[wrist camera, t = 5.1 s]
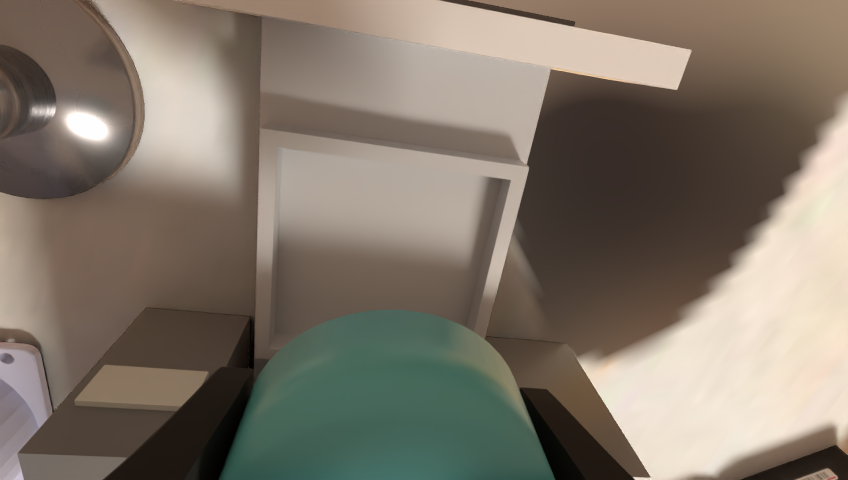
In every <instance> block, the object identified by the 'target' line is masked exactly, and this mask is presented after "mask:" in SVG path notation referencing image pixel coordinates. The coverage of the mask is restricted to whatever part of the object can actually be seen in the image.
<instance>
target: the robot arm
mask: <svg viewBox="0 0 848 480" xmlns="http://www.w3.org/2000/svg"><path fill="white" fill-rule="evenodd" d="M8 354H10V355H12V356H13V357H11V356H10V355H8ZM252 388H253V369H248V368H233V367H220V368H219V369H217V370H216V371H215V372H214V373H213V374H212V375H211V376H210V377H209V378H208V379H207V380H206V381H205V382H204V383H203V384H202V386H201V387H200V388H199V389H198V390H197V391H196V392H195V393H194V394H193V395H192V396H191V397H190V398H189V399H188V400H187V401H186V402H185V403H184V404H183V405H182V406H181V407H180V408H179V409H178V410H177V411H176V412H175V413H174V414H173V415H172V416H171V417H170V418H169V419H168V420H167V421H166V422H165V423H164V424H163V425H162V426H161V427H160V428H159V429H158V430H157V431H156V432H154V433H153V434H152V435H151V436H150V437H149V438H148V439H147V440H146V441H145V442H144V443H143V444H142V445H141V446H140V447H139V448H138V449H137V450H136V451H134V452H133V453H132V454H131V455H130V456H129V457H128V458H127V459H126V460H125V461H124V462H122V463H121V464H120V465H119V466H118V467H117V468H115V469H114V470H113V471H112V472H111V473H110V474H109V475H107V476H106V477H105V478H104V479H103V480H218V479H219V477H220V474H221V471H222V468H223V466H224V463H225V460H226V458H227V455H228V452H229V450H230V447H231V444H232V441H233V439H234V436H235V433H236V431H237V428H238V425H239V422H240V420H241V417H242V414H243V412H244V409H245V406H246V404H247V401H248V398H249V395H250V393H251V390H252ZM519 391H520V394H521V396H522V399H523V401H524V403H525V406H526V408H527V411H528V413H529V416H530V418H531V421H532V423H533V426H534V428H535V431H536V433H537V436H538V438H539V441H540V443H541V446H542V448H543V451H544V453H545V455H546V458H547V460H548V463H549V465H550V468H551V470H552V473H553V475H554V478H555V480H635V479H634V478H633V477H632V476H631V475H630V474H629V473H628V472H627V471H626V470H625V469H624V468H623V467H622V466H621V465H620V464H619V463H618V462H617V461H616V460H615V459H614V458H613V457H612V456H611V455H610V454H609V453H608V452H607V451H606V450H605V449H604V448H603V447H602V446H601V445H600V444H599V443H598V442H597V441H596V440H595V438H594V437H593V436H592V435H591V434H590V433H589V432H588V431H587V430H586V429H585V428H584V427H583V426H582V425H581V424H580V423H579V422H578V421H577V420H576V418H575V417H574V416H573V415H572V414H571V413H570V412H569V411H568V410H567V409H566V408H565V407H564V406H563V405H562V404H561V403H560V402H559V401H558V400H557V399H556V398H555V397H554V396H553V395H552V394H551V393H550V392H549V391H548V390H547V389H539V388H524V387H520V390H519ZM52 413H53V412H52V407H51V402H50V397H49V392H48V387H47V382H46V377H45V372H44V367H43V362H42V357H41V354H40V352H39V350H38V349H37V348H36V347H34V346H32V345H29V344H22V343H8V342H0V480H24V478H23V474H22V470H21V466H20V462H19V458H18V454H17V453H18V452H19V451H20V450H21V449H22V447H23V446H24V445H25V444H26V443H27V442H28V441H29V439H30V438H31V437H32V436H33V435H34V434H35V433H36V432H37V430H38V429H39V428H40V427H41V426H42V425H43V424H44V423H45V421H46V420H47V419H48V418H49V417H50V416H51V415H52Z"/></svg>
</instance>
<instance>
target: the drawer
mask: <svg viewBox="0 0 848 480" xmlns="http://www.w3.org/2000/svg"><path fill="white" fill-rule="evenodd" d="M174 1H179V2H183V3H188V4H194V5H200V6H205V7H211V8H216V9H222V10H227V11H233V12H238V13H244V14H249V15H255V16H260V17H262V27H261V72H260V116H259V160H258V205H257V249H256V294H255V338H254V382H253V386H254V384H255V382H256V380H257V378H258V375H259V374H260V373H261V371H262V370H263V368H264V367H265V365H266V364H267V363H268V361H269V360H270V359H271V358H272V357H273V356H274V355H275V354H276V353H277V352H278V351H279V350H280V349H281V348H282V347H284V346H285V345H286V344H287V343H289V342H290V341H291V340H293V339H294V338H295V337H297V336H299V335H300V334H302V333H304V332H305V331H307V330H309V329H311V328H313V327H315V326H317V325H319V324H322V323H324V322H326V321H329V320H332V319H335V318H338V317H342V316H345V315H349V314H354V313H359V312H365V311H374V310H409V311H416V312H422V313H428V314H432V315H435V316H439V317H443V318H446V319H448V320H451V321H453V322H455V323H458V324H460V325H462V326H464V327H466V328H468V329H469V330H471V331H473V332H475V333H476V334H478V335H479V336H480V337H482V338H483V339H484V340H485V336H486V332H487V328H488V325H489V321H490V317H491V313H492V309H493V305H494V301H495V298H496V294H497V290H498V286H499V282H500V278H501V274H502V271H503V267H504V263H505V259H506V255H507V251H508V247H509V244H510V240H511V236H512V232H513V228H514V224H515V220H516V217H517V212H518V209H519V205H520V201H521V197H522V193H523V190H524V186H525V182H526V178H527V174H528V170H529V167H528V166H527V165H526V164H527V160H528V156H529V153H530V149H531V145H532V141H533V137H534V133H535V129H536V125H537V121H538V117H539V113H540V109H541V106H542V102H543V98H544V94H545V90H546V86H547V82H548V78H549V74H550V70H551V69H554V70H559V71H565V72H571V73H576V74H582V75H587V76H593V77H598V78H604V79H609V80H616V81H622V82H629V83H635V84H642V85H648V86H655V87H662V88H668V89H675V90H677V89H678V86H679V83H680V81H681V78H682V75H683V72H684V70H685V67H686V64H687V62H688V59H689V56H690V53H691V50H688V49H683V48H678V47H673V46H668V45H663V44H658V43H652V42H648V41H642V40H638V39H632V38H627V37H622V36H617V35H612V34H607V33H602V32H597V31H591V30H587V29H581V28H577V27H574V24H575V22H574V21H569V20H564V19H558V18H554V17H549V16H543V15H539V14H533V13H529V12H524V11H518V10H513V9H509V8H504V7H499V6H494V5H488V4H484V3H478V2H473V1H468V0H174Z"/></svg>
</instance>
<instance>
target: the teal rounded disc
mask: <svg viewBox="0 0 848 480" xmlns="http://www.w3.org/2000/svg"><path fill="white" fill-rule="evenodd" d="M218 480H555V478H554V475H553V473H552V470H551V468H550V465H549V463H548V460H547V458H546V455H545V453H544V451H543V448H542V446H541V443H540V441H539V438H538V436H537V433H536V431H535V428H534V426H533V423H532V421H531V418H530V416H529V413H528V411H527V408H526V406H525V403H524V401H523V399H522V396H521V394H520V391H519V389H518V386H517V384H516V381H515V379H514V377H513V375H512V373H511V370H510V368H509V366H508V365H507V364H506V362H505V361H504V359H503V358H502V356H501V355H500V354H499V353H498V352H497V351H496V350H495V349H494V348H493V347H492V346H491V345H490V344H489V343H488V342H487V341H486V340H484V339H483V338H482V337H480V336H479V335H478V334H476V333H475V332H473V331H471V330H469V329H468V328H466V327H464V326H462V325H460V324H458V323H455V322H453V321H451V320H448V319H446V318H443V317H439V316H435V315H432V314H428V313H422V312H416V311H409V310H374V311H365V312H359V313H354V314H349V315H345V316H342V317H338V318H335V319H332V320H329V321H326V322H324V323H322V324H319V325H317V326H315V327H313V328H311V329H309V330H307V331H305V332H304V333H302V334H300V335H299V336H297V337H295V338H294V339H293V340H291V341H290V342H289V343H287V344H286V345H285V346H284V347H282V348H281V349H280V350H279V351H278V352H277V353H276V354H275V355H274V356H273V357H272V358H271V359H270V360H269V361H268V363H267V364H266V365H265V367H264V368H263V370H262V371H261V373H260V374H259V375H258V378H257V380H256V382H255V384H254V386H253V388H252V390H251V393H250V395H249V398H248V401H247V404H246V406H245V409H244V412H243V414H242V417H241V420H240V422H239V425H238V428H237V431H236V433H235V436H234V439H233V441H232V444H231V447H230V450H229V452H228V455H227V458H226V460H225V463H224V466H223V468H222V471H221V474H220V477H219V479H218Z"/></svg>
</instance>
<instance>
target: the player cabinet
mask: <svg viewBox="0 0 848 480" xmlns="http://www.w3.org/2000/svg"><path fill="white" fill-rule="evenodd" d="M485 340H486V341H487V342H488V343H489V344H490V345H491V346H492V347H493V348H494V349H495V350H496V351H497V352H498V353H499V354H500V355H501V356H502V358H503V359H504V361H505V362H506V364H507V365H508V366H509V368H510V370H511V373H512V375H513V377H514V379H515V381H516V384H517V386H518V389H519V390H520V387H524V388H539V389H547V390H548V391H549V392H550V393H551V394H552V395H553V396H554V397H555V398H556V399H557V400H558V401H559V402H560V403H561V404H562V405H563V406H564V407H565V408H566V409H567V410H568V411H569V412H570V413H571V414H572V415H573V416H574V417H575V418H576V420H577V421H578V422H579V423H580V424H581V425H582V426H583V427H584V428H585V429H586V430H587V431H588V432H589V433H590V434H591V435H592V436H593V437H594V438H595V440H596V441H597V442H598V443H599V444H600V445H601V446H602V447H603V448H604V449H605V450H606V451H607V452H608V453H609V454H610V455H611V456H612V457H613V458H614V459H615V460H616V461H617V462H618V463H619V464H620V465H621V466H622V467H623V468H624V469H625V470H626V471H627V472H628V473H629V474H630V475H631V476H632V477H633V478H634V479H635V480H650V479H651V477H650V475H649V474H648V472H647V471H646V469H645V467H644V466H643V464H642V463H641V461H640V459H639V458H638V456H637V455H636V453H635V451H634V450H633V448H632V447H631V445H630V444H629V442H628V440H627V439H626V437H625V436H624V434H623V432H622V431H621V429H620V428H619V426H618V424H617V423H616V421H615V420H614V418H613V416H612V415H611V413H610V412H609V410H608V408H607V407H606V405H605V404H604V402H603V400H602V399H601V397H600V396H599V394H598V393H597V391H596V389H595V388H594V386H593V385H592V383H591V381H590V380H589V378H588V377H587V375H586V373H585V372H584V370H583V369H582V367H581V365H580V364H579V362H578V361H577V359H576V357H575V356H574V354H573V353H572V351H571V349H570V348H569V346H568V345H567V343H556V342H544V341H532V340H520V339H509V338H497V337H485ZM249 342H250V317H249V316H238V315H226V314H214V313H202V312H190V311H179V310H167V309H155V308H145V309H144V311H143V312H142V313H141V314H140V315H139V316H138V317H137V318H136V320H135V321H134V322H133V323H132V324H131V325H130V326H129V328H128V329H127V330H126V331H125V332H124V333H123V334H122V335H121V337H120V338H119V339H118V340H117V341H116V342H115V343H114V344H113V346H112V347H111V348H110V349H109V350H108V351H107V352H106V354H105V355H104V356H103V357H102V358H101V359H100V360H99V361H98V363H97V364H96V365H95V366H94V367H93V368H92V369H91V370H90V372H89V373H88V374H87V375H86V376H85V377H84V378H83V380H82V381H81V382H80V383H79V384H78V385H77V386H76V387H75V389H74V390H73V391H72V392H71V393H70V394H69V395H68V396H67V398H66V399H65V400H64V401H63V402H62V403H61V404H60V406H59V407H58V408H57V409H56V410H55V411H54V412H53V413H52V415H51V416H50V417H49V418H48V419H47V420H46V421H45V423H44V424H43V425H42V426H41V427H40V428H39V429H38V430H37V432H36V433H35V434H34V435H33V436H32V437H31V438H30V439H29V441H28V442H27V443H26V444H25V445H24V446H23V447H22V449H21V450H20V451H19V452H18V453H17V454H18V458H19V462H20V466H21V470H22V474H23V478H24V480H103V479H104V478H105V477H106V476H107V475H109V474H110V473H111V472H112V471H113V470H114V469H115V468H117V467H118V466H119V465H120V464H121V463H122V462H124V461H125V460H126V459H127V458H128V457H129V456H130V455H131V454H132V453H133V452H134V451H136V450H137V449H138V448H139V447H140V446H141V445H142V444H143V443H144V442H145V441H146V440H147V439H148V438H149V437H150V436H151V435H152V434H153V433H154V432H156V431H157V430H158V429H159V428H160V427H161V426H162V425H163V424H164V423H165V422H166V421H167V420H168V419H169V418H170V417H171V416H172V415H173V414H174V413H175V412H176V411H177V410H178V409H179V408H180V407H181V406H182V405H183V404H184V403H185V402H186V401H187V400H188V399H189V398H190V397H191V396H192V395H193V394H194V393H195V392H196V391H197V390H198V389H199V388H200V387H201V386H202V384H203V383H204V382H205V381H206V380H207V379H208V378H209V377H210V376H211V375H212V374H213V373H214V372H215V371H216V370H217V369H219V368H220V367H233V368H248V369H249Z"/></svg>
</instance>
